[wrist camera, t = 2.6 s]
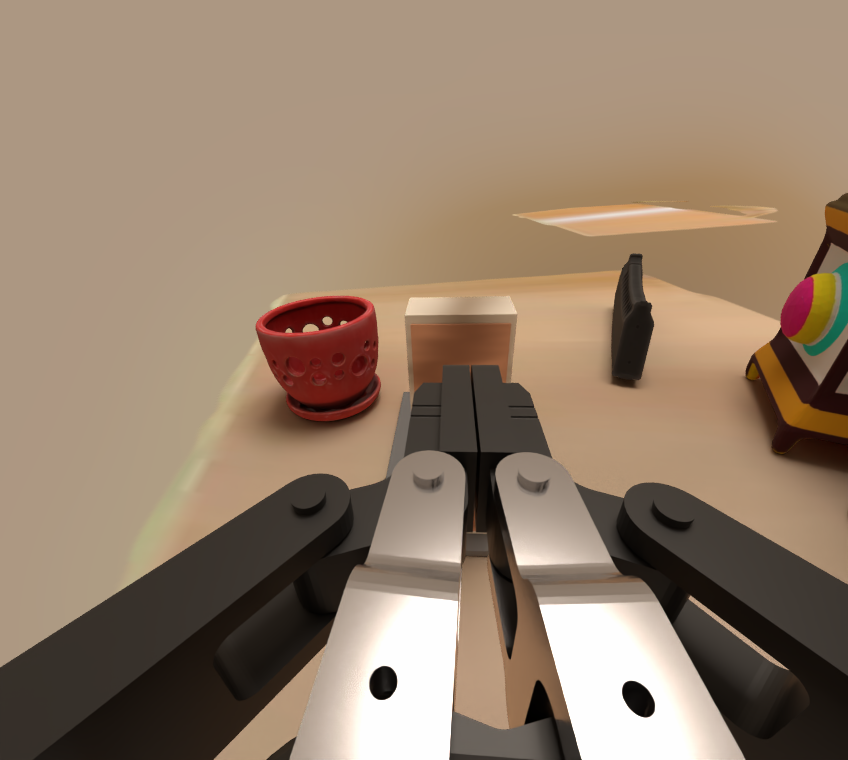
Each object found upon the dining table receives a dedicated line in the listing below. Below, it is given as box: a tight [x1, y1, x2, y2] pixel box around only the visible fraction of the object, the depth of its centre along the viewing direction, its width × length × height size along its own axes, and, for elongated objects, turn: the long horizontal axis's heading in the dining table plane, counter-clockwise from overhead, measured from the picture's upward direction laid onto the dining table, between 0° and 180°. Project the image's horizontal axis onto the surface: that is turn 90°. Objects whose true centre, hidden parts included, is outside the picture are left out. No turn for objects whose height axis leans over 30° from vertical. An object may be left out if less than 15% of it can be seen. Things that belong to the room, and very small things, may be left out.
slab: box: [405, 296, 517, 534], centre depth 26 cm, size 6×3×18 cm, turn 86°
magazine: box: [612, 254, 654, 380], centre depth 56 cm, size 17×3×30 cm
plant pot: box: [256, 296, 381, 421], centre depth 44 cm, size 13×13×12 cm
